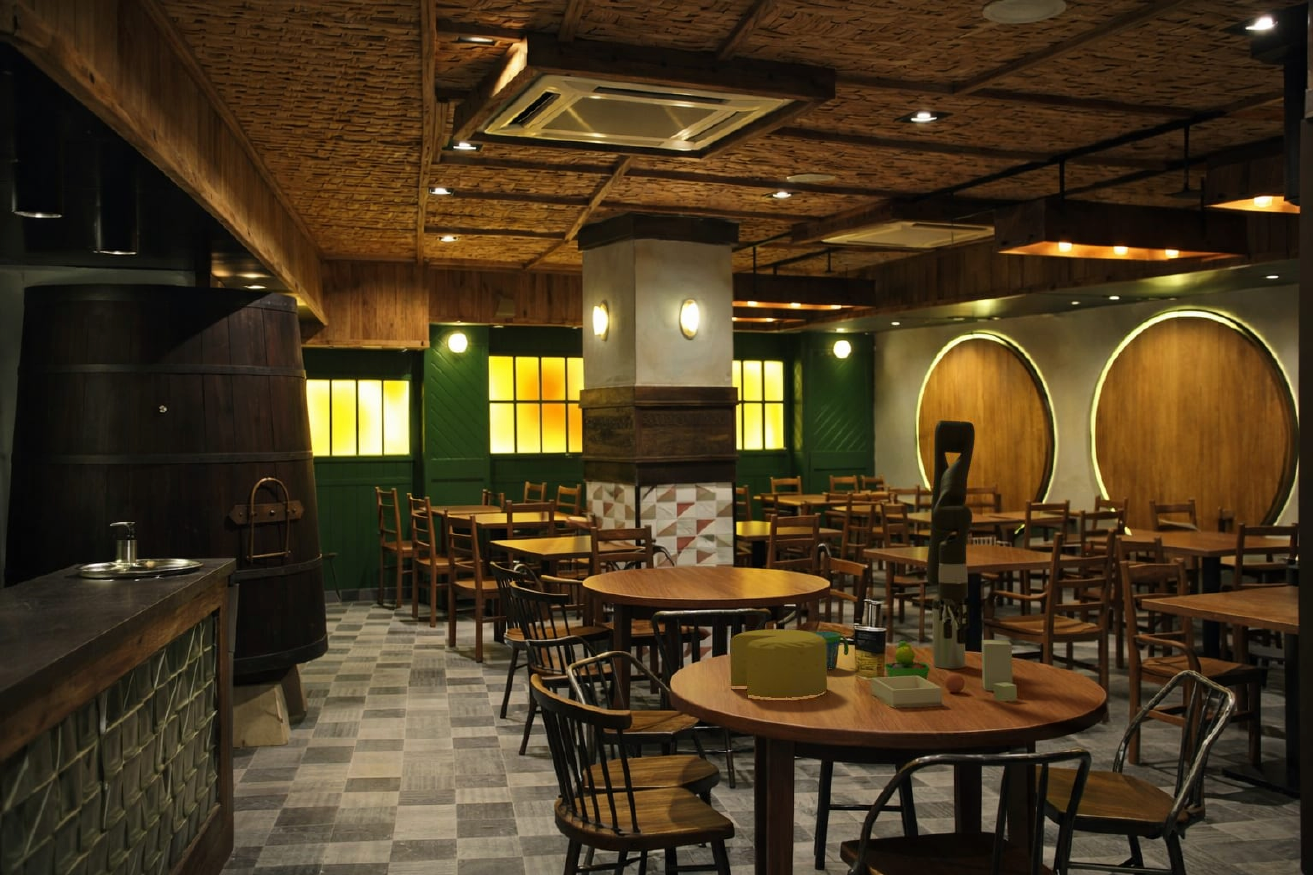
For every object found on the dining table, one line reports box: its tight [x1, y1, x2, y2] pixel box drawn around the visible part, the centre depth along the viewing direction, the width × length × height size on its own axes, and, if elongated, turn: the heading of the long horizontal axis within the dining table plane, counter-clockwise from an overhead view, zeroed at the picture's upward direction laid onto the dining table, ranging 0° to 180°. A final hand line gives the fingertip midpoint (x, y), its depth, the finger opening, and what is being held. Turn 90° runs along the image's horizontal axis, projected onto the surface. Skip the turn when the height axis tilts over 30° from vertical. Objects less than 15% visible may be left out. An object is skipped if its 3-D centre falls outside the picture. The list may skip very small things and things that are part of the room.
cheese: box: [729, 628, 828, 698], centre depth 308 cm, size 26×26×15 cm
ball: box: [944, 672, 965, 693], centre depth 302 cm, size 5×5×5 cm
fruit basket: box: [884, 640, 931, 681], centre depth 315 cm, size 11×9×11 cm
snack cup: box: [811, 631, 849, 670], centre depth 338 cm, size 16×10×10 cm
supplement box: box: [981, 639, 1013, 692], centre depth 306 cm, size 7×7×13 cm
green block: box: [993, 682, 1018, 702], centre depth 293 cm, size 4×4×4 cm
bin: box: [870, 676, 943, 708], centre depth 294 cm, size 16×13×4 cm
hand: (954, 640), depth 302 cm, fingers open, 8 cm apart
